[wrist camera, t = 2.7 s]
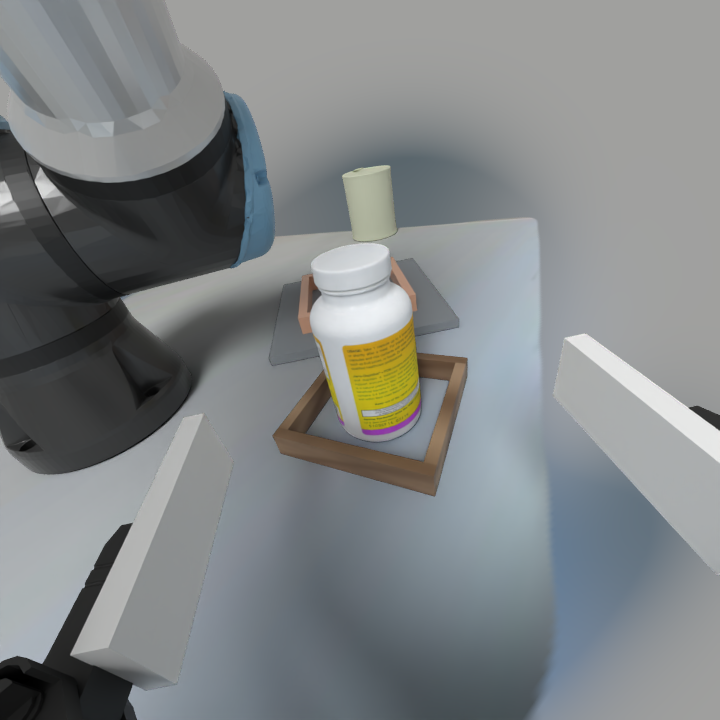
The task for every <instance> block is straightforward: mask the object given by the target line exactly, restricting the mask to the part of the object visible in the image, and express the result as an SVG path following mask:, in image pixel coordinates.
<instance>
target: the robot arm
mask: <svg viewBox="0 0 720 720" xmlns="http://www.w3.org/2000/svg"><path fill="white" fill-rule="evenodd" d="M0 76H1V78H2V79H3V80H4V81H5V82H6V84H7V85H8V86H9V87H10V91H9V98H8V104H7V117H8V122H7V121H6V120H5V118H3V117H2V116H1V115H0V436H1V439H2V441H3V443H4V445H5V447H6V449H7V450H8V452H9V453H10V454H11V455H12V456H13V457H15V458H16V459H17V460H18V461H19V462H21V463H22V464H23V465H24V466H25V467H27V468H28V469H29V470H31V471H33V472H36V473H40V474H60V473H66V472H71V471H75V470H78V469H82V468H85V467H88V466H91V465H94V464H96V463H99V462H101V461H104V460H106V459H108V458H110V457H112V456H114V455H116V454H118V453H120V452H122V451H124V450H126V449H127V448H129V447H131V446H133V445H134V444H136V443H137V442H139V441H140V440H142V439H143V438H145V437H146V436H148V435H149V434H150V433H152V432H153V431H154V430H156V429H157V428H158V427H159V426H161V425H162V424H163V423H164V422H165V421H166V420H167V419H168V418H169V417H170V416H171V415H172V414H173V413H174V412H175V411H176V410H177V409H178V408H179V406H180V405H181V404H182V402H183V401H184V399H185V398H186V396H187V394H188V392H189V390H190V387H191V382H192V379H191V374H190V372H189V371H188V369H187V367H186V366H185V364H184V362H183V361H182V359H181V357H180V356H179V355H178V354H177V353H176V352H175V351H173V350H172V349H171V348H170V347H169V346H167V345H166V344H165V343H164V342H162V341H161V340H160V339H159V338H158V337H156V336H155V335H154V334H153V333H152V332H150V331H149V330H148V329H147V328H145V327H144V326H143V325H142V324H141V323H139V322H138V321H137V320H136V319H135V318H134V317H133V316H132V315H131V313H130V312H129V310H128V309H127V307H126V306H125V304H124V303H123V301H122V300H121V298H120V297H122V296H125V295H129V294H132V293H136V292H139V291H143V290H147V289H151V288H155V287H158V286H162V285H166V284H170V283H174V282H178V281H181V280H185V279H189V278H193V277H197V276H201V275H204V274H208V273H212V272H216V271H220V270H223V269H227V268H235V267H237V266H238V265H240V264H241V263H243V262H246V261H248V260H251V259H254V258H257V257H260V256H263V255H264V254H266V253H267V252H268V251H269V250H270V248H271V246H272V244H273V241H274V236H275V216H274V206H273V198H272V192H271V187H270V184H269V181H268V179H267V171H266V164H265V158H264V153H263V150H262V146H261V142H260V139H259V135H258V132H257V129H256V126H255V123H254V121H253V118H252V116H251V113H250V111H249V109H248V107H247V105H246V103H245V102H244V100H243V99H242V98H241V97H240V96H238V95H236V94H229V93H227V92H225V91H223V89H222V86H221V83H220V81H219V79H218V76H217V75H216V73H215V72H214V70H213V69H212V67H211V66H210V65H209V64H208V63H207V62H206V61H205V60H204V59H203V58H202V57H200V56H199V55H198V54H197V53H195V52H194V51H192V50H191V49H189V48H187V47H186V46H184V45H183V44H181V43H180V42H179V40H178V37H177V34H176V31H175V29H174V25H173V23H172V20H171V17H170V14H169V12H168V9H167V6H166V3H165V0H0ZM553 397H554V398H555V399H556V400H557V401H558V402H559V403H560V404H561V406H562V407H563V408H564V409H565V410H566V411H567V412H568V413H569V414H570V415H571V416H572V418H573V419H574V420H575V421H576V422H577V423H578V424H579V425H580V426H581V427H582V429H584V431H585V432H586V433H587V434H588V435H589V436H590V437H591V438H592V439H593V440H594V442H595V443H596V444H597V445H598V446H599V447H600V448H601V449H602V450H603V451H604V453H605V454H606V455H607V456H608V457H609V458H610V459H611V460H612V461H613V462H614V463H615V465H616V466H617V467H618V468H619V469H620V470H621V471H622V472H623V473H624V474H625V476H626V477H627V478H628V479H629V480H630V481H631V482H632V483H633V484H634V485H635V486H636V488H637V489H638V490H639V491H640V492H641V493H642V494H643V495H644V496H645V497H646V499H647V500H648V501H649V502H650V503H651V504H652V505H653V506H654V507H655V508H656V509H657V511H658V512H659V513H660V514H661V515H662V516H663V517H664V518H665V519H666V520H667V521H668V522H669V524H670V525H671V526H672V527H673V528H674V529H675V530H676V531H677V532H678V534H680V536H681V537H682V538H683V539H684V540H685V541H686V542H687V543H688V544H689V546H690V547H691V548H692V549H693V550H694V551H695V552H696V553H697V554H698V555H699V556H700V558H701V559H702V560H703V561H704V562H705V563H706V564H707V565H708V566H709V567H710V568H711V570H713V572H714V573H715V574H716V575H717V576H719V575H720V415H718V414H715V413H713V412H711V411H709V410H706V409H704V408H702V407H699V406H694V407H690V408H688V407H686V406H685V405H683V404H682V403H681V402H679V401H678V400H677V399H675V398H674V397H672V396H671V395H670V394H668V393H667V392H666V391H664V390H663V389H661V388H660V387H659V386H657V385H656V384H655V383H653V382H652V381H650V380H649V379H648V378H646V377H645V376H644V375H642V374H641V373H639V372H638V371H637V370H635V369H634V368H632V367H631V366H630V365H628V364H627V363H626V362H624V361H623V360H621V359H620V358H619V357H617V356H616V355H615V354H613V353H612V352H610V351H609V350H608V349H606V348H605V347H603V346H602V345H601V344H599V343H598V342H597V341H595V340H594V339H593V338H591V337H590V336H588V335H587V334H586V333H585V334H581V335H576V336H571V337H567V338H564V342H563V347H562V352H561V357H560V362H559V367H558V372H557V377H556V382H555V387H554V392H553ZM233 464H234V461H233V459H232V458H231V456H230V455H229V453H228V451H227V450H226V448H225V446H224V445H223V443H222V441H221V440H220V438H219V436H218V435H217V433H216V432H215V430H214V428H213V427H212V425H211V423H210V422H209V420H208V418H207V417H206V415H205V413H202V414H197V415H192V416H188V417H183V419H182V421H181V424H180V426H179V428H178V430H177V432H176V434H175V436H174V438H173V440H172V442H171V444H170V447H169V449H168V451H167V453H166V455H165V457H164V459H163V461H162V463H161V465H160V468H159V470H158V472H157V474H156V476H155V478H154V480H153V482H152V484H151V486H150V488H149V491H148V493H147V495H146V497H145V499H144V501H143V503H142V505H141V507H140V509H139V512H138V514H137V516H136V518H135V520H134V522H133V523H130V524H126V525H121V526H120V528H119V529H118V530H117V531H116V532H115V534H114V535H113V536H112V537H111V538H110V540H109V541H108V542H107V543H106V544H105V546H104V548H103V550H102V552H101V553H100V555H99V557H98V559H97V561H96V563H95V565H94V570H92V571H91V573H90V575H89V577H88V578H87V580H86V582H85V587H84V588H82V590H81V592H80V594H79V596H78V598H77V600H76V602H75V603H74V605H73V607H72V609H71V611H70V613H69V615H68V617H67V619H66V621H65V623H64V625H63V627H62V628H61V630H60V632H59V634H58V636H57V638H56V640H55V642H54V644H53V646H52V648H51V650H50V652H49V653H48V655H47V657H46V659H45V661H44V662H43V664H40V663H37V662H35V661H33V660H30V659H28V658H24V657H20V656H16V657H13V658H10V659H7V660H4V661H2V662H1V663H0V720H137V719H136V715H135V712H134V709H133V706H132V705H131V703H130V702H129V700H128V697H129V694H130V691H131V688H132V685H135V686H137V687H139V688H142V689H144V690H146V691H147V690H152V689H157V688H162V687H167V686H172V685H177V683H178V679H179V675H180V671H181V668H182V664H183V660H184V656H185V652H186V648H187V644H188V640H189V636H190V632H191V628H192V624H193V621H194V617H195V613H196V609H197V605H198V601H199V597H200V593H201V589H202V585H203V581H204V577H205V574H206V570H207V566H208V562H209V558H210V554H211V550H212V546H213V542H214V538H215V534H216V530H217V527H218V523H219V519H220V515H221V511H222V507H223V503H224V499H225V495H226V491H227V487H228V483H229V480H230V476H231V472H232V468H233Z"/></svg>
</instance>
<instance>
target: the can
mask: <svg viewBox="0 0 720 720" xmlns="http://www.w3.org/2000/svg"><path fill="white" fill-rule="evenodd" d="M390 169H391V167H390V166H375V167H369V168H364V169H363V168H359V169H356V170H354V171H352V172H348V173H346V174H344V175H342V178H343V182H344V187H345V192H346V198H347V203H348V209H349V214H350V220H351V226H352V233H353V239H354V240H356V241H362V242H367V241H376V240H381V239H384V238H387V237H390V236H392V235H394V234H395V233H396V232H397V227H396V220H395V212H394V202H393V193H392V182H391V170H390Z"/></svg>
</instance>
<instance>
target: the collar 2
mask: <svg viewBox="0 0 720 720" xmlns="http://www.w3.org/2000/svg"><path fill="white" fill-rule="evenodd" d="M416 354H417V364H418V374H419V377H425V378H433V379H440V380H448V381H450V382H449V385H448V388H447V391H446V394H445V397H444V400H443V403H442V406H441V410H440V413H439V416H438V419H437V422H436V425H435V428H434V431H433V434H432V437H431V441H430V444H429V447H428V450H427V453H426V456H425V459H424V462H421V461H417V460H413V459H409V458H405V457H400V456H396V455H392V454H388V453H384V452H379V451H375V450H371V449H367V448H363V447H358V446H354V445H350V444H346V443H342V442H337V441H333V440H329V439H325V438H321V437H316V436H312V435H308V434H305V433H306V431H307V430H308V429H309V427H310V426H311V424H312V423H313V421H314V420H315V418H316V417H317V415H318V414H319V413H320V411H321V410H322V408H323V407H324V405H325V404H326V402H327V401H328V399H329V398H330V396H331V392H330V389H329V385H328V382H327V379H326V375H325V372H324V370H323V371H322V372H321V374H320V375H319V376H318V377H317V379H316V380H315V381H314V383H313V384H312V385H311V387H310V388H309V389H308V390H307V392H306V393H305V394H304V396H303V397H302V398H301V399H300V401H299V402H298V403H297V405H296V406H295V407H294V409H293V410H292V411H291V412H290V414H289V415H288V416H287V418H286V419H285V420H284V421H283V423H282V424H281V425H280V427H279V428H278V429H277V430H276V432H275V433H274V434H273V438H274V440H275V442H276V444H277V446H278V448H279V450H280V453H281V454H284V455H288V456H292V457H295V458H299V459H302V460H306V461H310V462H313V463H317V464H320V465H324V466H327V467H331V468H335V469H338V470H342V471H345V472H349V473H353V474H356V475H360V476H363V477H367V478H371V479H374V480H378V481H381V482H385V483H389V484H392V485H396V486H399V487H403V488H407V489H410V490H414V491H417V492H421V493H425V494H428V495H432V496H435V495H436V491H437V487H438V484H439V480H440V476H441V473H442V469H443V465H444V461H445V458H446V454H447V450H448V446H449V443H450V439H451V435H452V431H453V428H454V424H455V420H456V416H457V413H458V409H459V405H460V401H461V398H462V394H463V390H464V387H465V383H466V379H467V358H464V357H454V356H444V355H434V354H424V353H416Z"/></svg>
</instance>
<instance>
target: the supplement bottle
mask: <svg viewBox="0 0 720 720" xmlns="http://www.w3.org/2000/svg"><path fill="white" fill-rule="evenodd" d="M311 269H312V274H313V278H314V283H315V285H316V286H317V287H318V289H319V291H321V294H322V295H321V296H320V297H319V298H318V299H317V300H316V302H315V303H314V305H313V307H312V309H311V312H310V325H311V329H312V332H313V336H314V339H315V342H316V345H317V348H318V352H319V355H320V358H321V362H322V365H323V368H324V372H325V375H326V379H327V382H328V385H329V389H330V392H331V396H332V399H333V402H334V405H335V409H336V412H337V415H338V418H339V421H340V423H341V425H342V427H343V428H344V429H345V430H346V431H347V432H348V433H349V434H350V435H352V436H354V437H356V438H358V439H361V440H364V441H369V442H382V441H388V440H392V439H395V438H397V437H399V436H401V435H403V434H405V433H406V432H407V431H409V430H410V429H411V428H412V427H413V426H414V425H415V423H416V422H417V420H418V418H419V416H420V413H421V394H420V384H419V374H418V364H417V354H416V343H415V333H414V322H413V311H412V304H411V300H410V298H409V296H408V294H407V293H406V291H405V290H404V289H403V288H401V287H400V286H398V285H397V284H395V283H392V282H390V281H389V277H390V274H391V270H392V266H391V258H390V252H389V249H388V248H387V247H386V246H384V245H381V244H376V243H360V244H352V245H346V246H342V247H338V248H335V249H332V250H329V251H327V252H324V253H322V254H320V255H319V256H317V257H316V258H315V259H314V260H313V261H312V263H311Z"/></svg>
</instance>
